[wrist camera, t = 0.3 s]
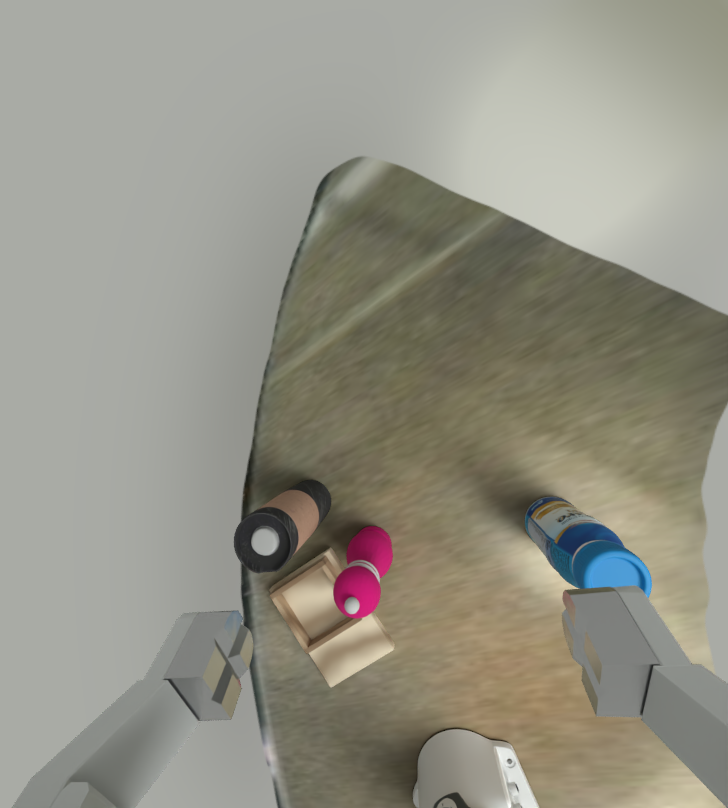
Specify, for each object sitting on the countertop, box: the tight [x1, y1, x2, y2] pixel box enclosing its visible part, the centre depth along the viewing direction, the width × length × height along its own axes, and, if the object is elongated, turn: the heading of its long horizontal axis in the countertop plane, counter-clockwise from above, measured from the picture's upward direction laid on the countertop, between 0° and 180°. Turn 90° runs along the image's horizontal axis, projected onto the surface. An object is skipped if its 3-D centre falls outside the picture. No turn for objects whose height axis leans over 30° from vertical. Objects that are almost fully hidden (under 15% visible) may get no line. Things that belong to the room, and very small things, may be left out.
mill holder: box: [269, 547, 395, 687], centre depth 62 cm, size 19×13×4 cm
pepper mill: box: [333, 526, 393, 619], centre depth 52 cm, size 7×7×20 cm
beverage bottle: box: [525, 497, 652, 598], centre depth 48 cm, size 8×8×20 cm
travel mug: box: [234, 480, 331, 573], centre depth 54 cm, size 8×8×20 cm
